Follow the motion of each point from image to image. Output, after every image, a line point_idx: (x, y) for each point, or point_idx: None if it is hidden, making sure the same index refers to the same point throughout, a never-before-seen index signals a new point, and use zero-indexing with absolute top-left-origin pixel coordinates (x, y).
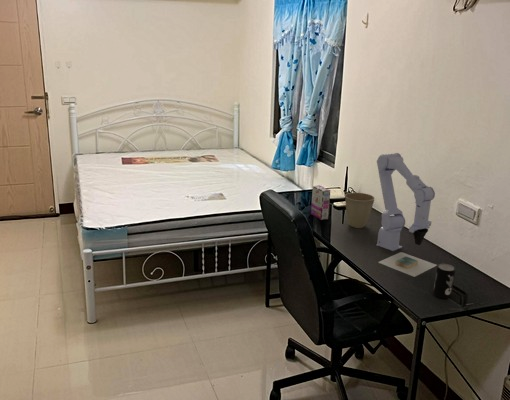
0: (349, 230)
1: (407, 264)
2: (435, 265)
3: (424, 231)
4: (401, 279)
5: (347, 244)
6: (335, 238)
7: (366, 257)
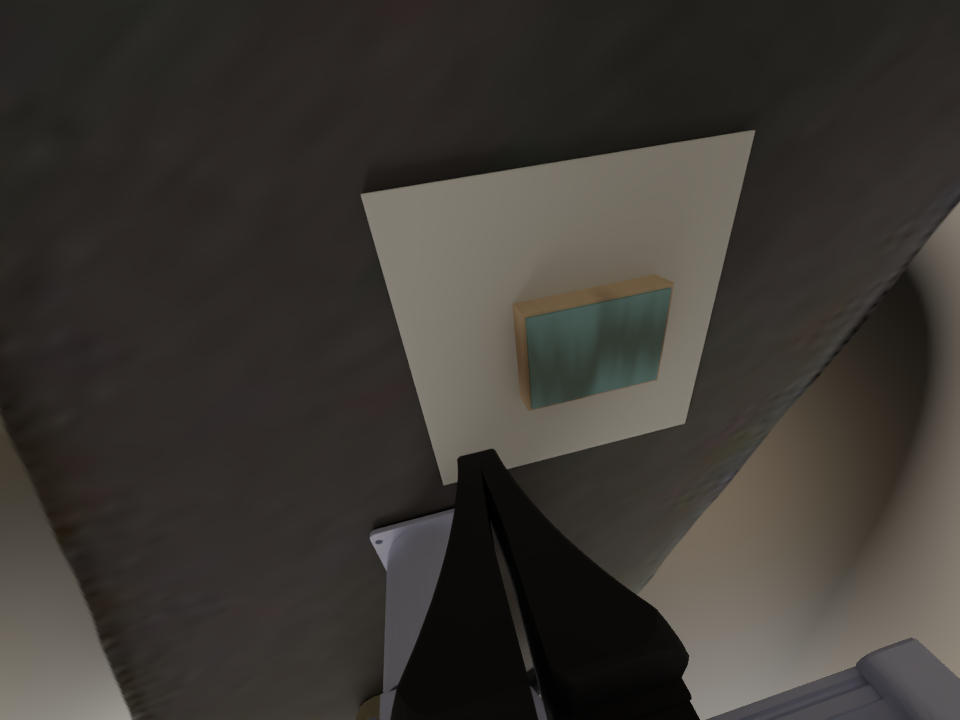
0: None
1: (658, 299)
2: (387, 198)
3: (581, 685)
4: (821, 174)
5: None
6: None
7: (651, 483)
